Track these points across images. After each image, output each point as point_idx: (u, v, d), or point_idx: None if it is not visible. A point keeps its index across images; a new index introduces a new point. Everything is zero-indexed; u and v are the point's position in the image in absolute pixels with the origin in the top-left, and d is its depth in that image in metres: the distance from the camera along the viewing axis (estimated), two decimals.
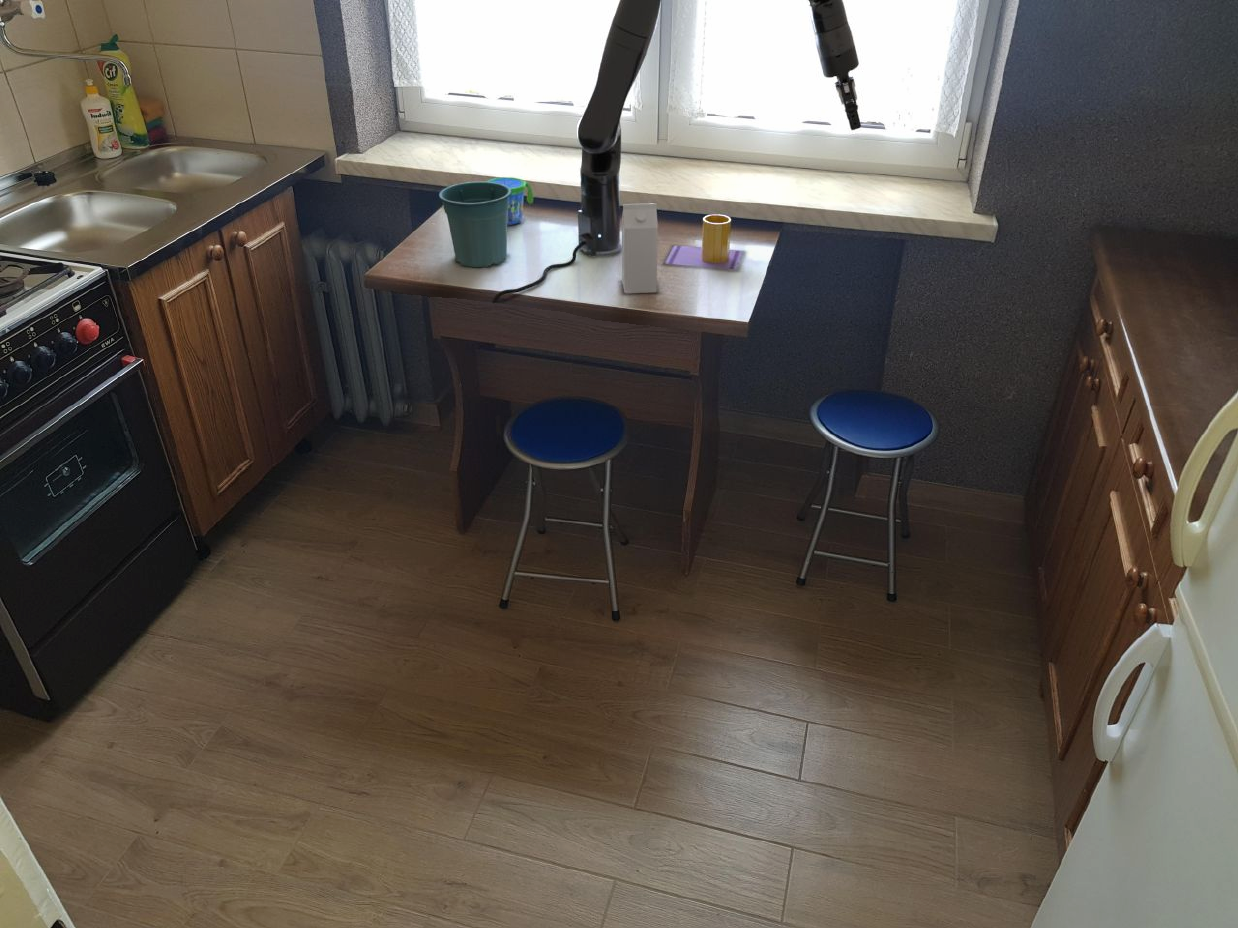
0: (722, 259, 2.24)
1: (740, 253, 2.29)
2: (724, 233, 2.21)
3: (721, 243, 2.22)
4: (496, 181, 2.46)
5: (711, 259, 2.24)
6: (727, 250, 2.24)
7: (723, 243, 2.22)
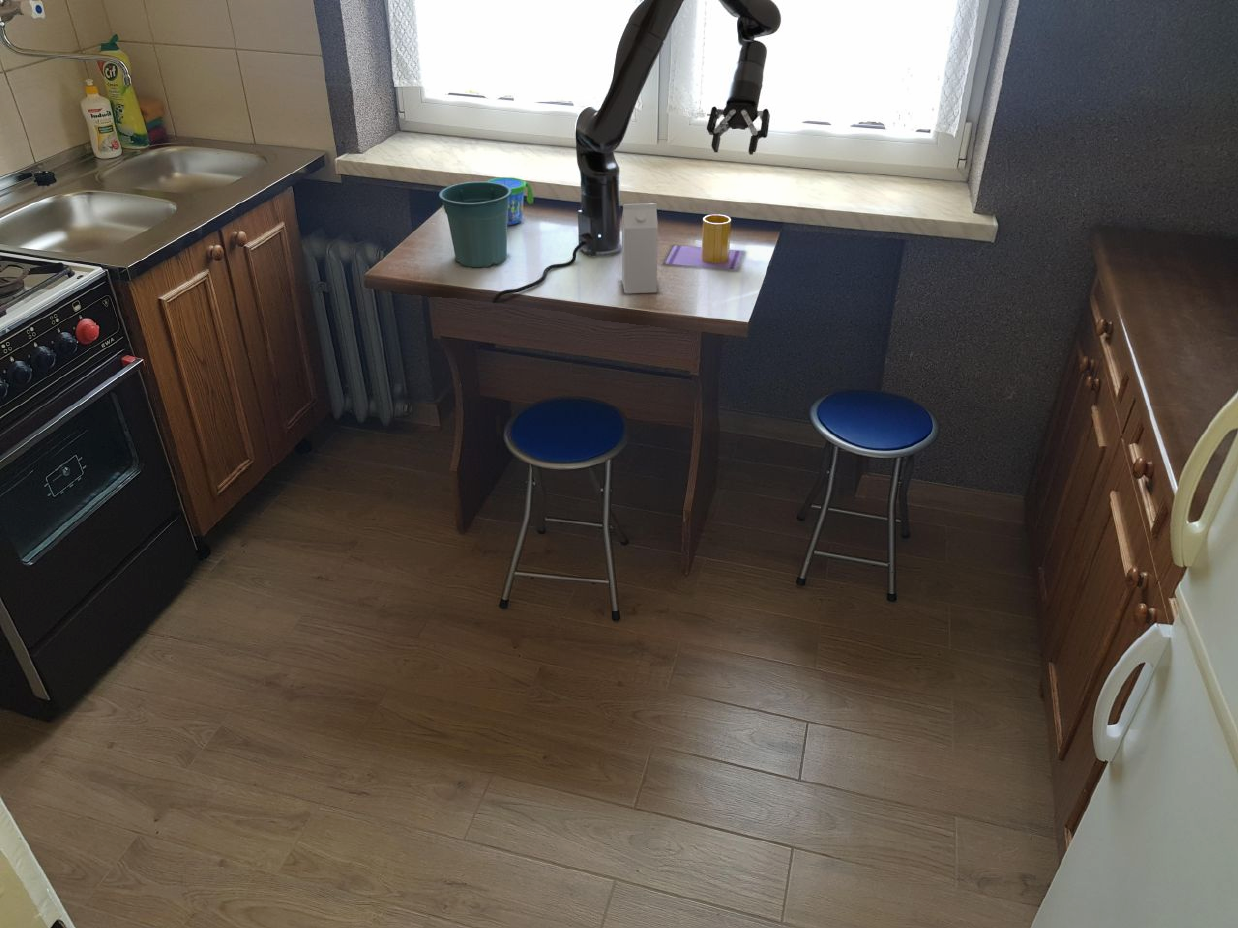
0: (722, 259, 2.24)
1: (740, 253, 2.29)
2: (724, 233, 2.21)
3: (721, 243, 2.22)
4: (496, 181, 2.46)
5: (711, 259, 2.24)
6: (727, 250, 2.24)
7: (723, 243, 2.22)
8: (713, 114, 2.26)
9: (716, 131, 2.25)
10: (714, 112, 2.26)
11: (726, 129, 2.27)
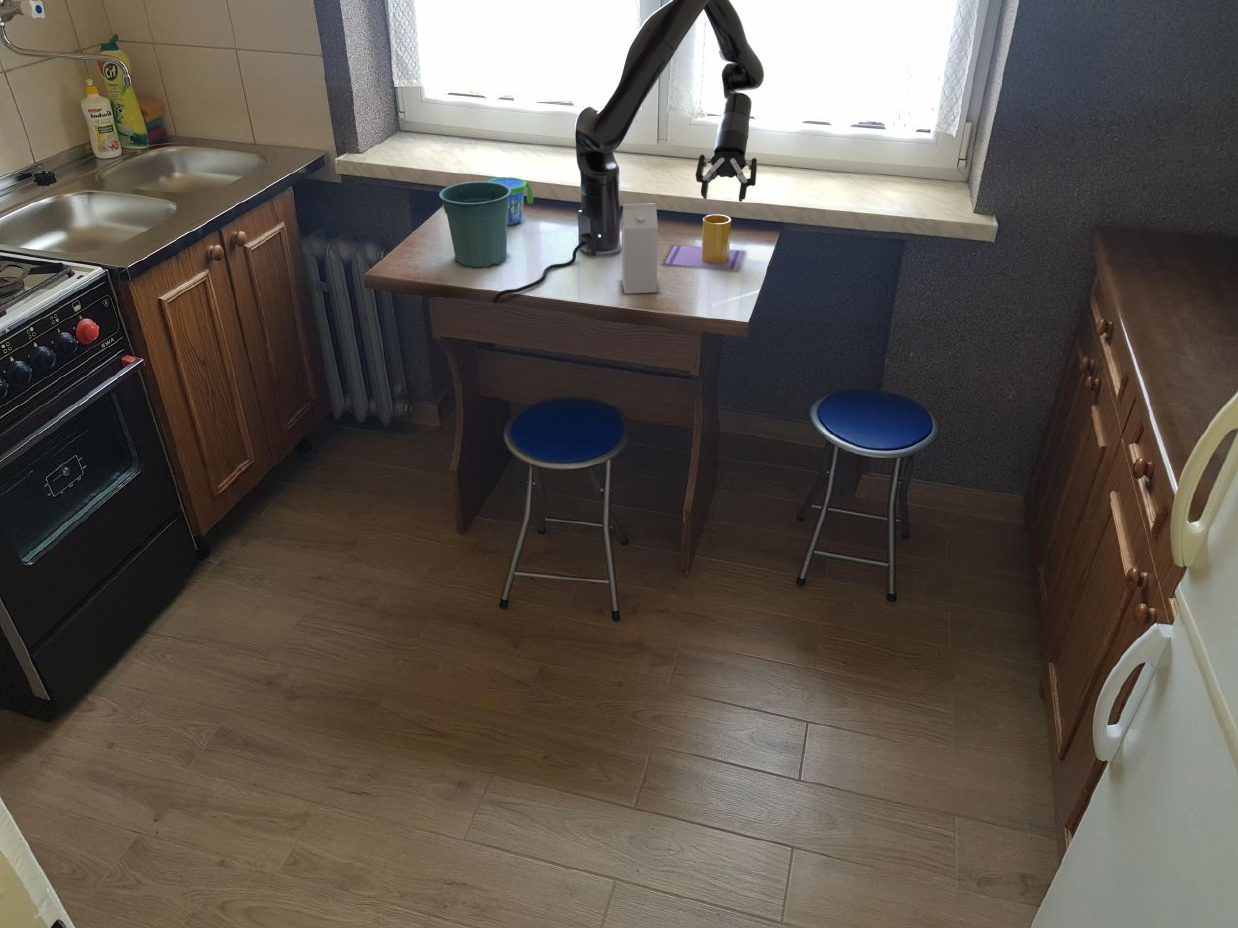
0: (722, 259, 2.24)
1: (740, 253, 2.29)
2: (724, 233, 2.21)
3: (721, 243, 2.22)
4: (496, 181, 2.46)
5: (711, 259, 2.24)
6: (727, 250, 2.24)
7: (723, 243, 2.22)
8: (701, 162, 2.28)
9: (705, 178, 2.27)
10: (702, 160, 2.28)
11: (714, 177, 2.29)
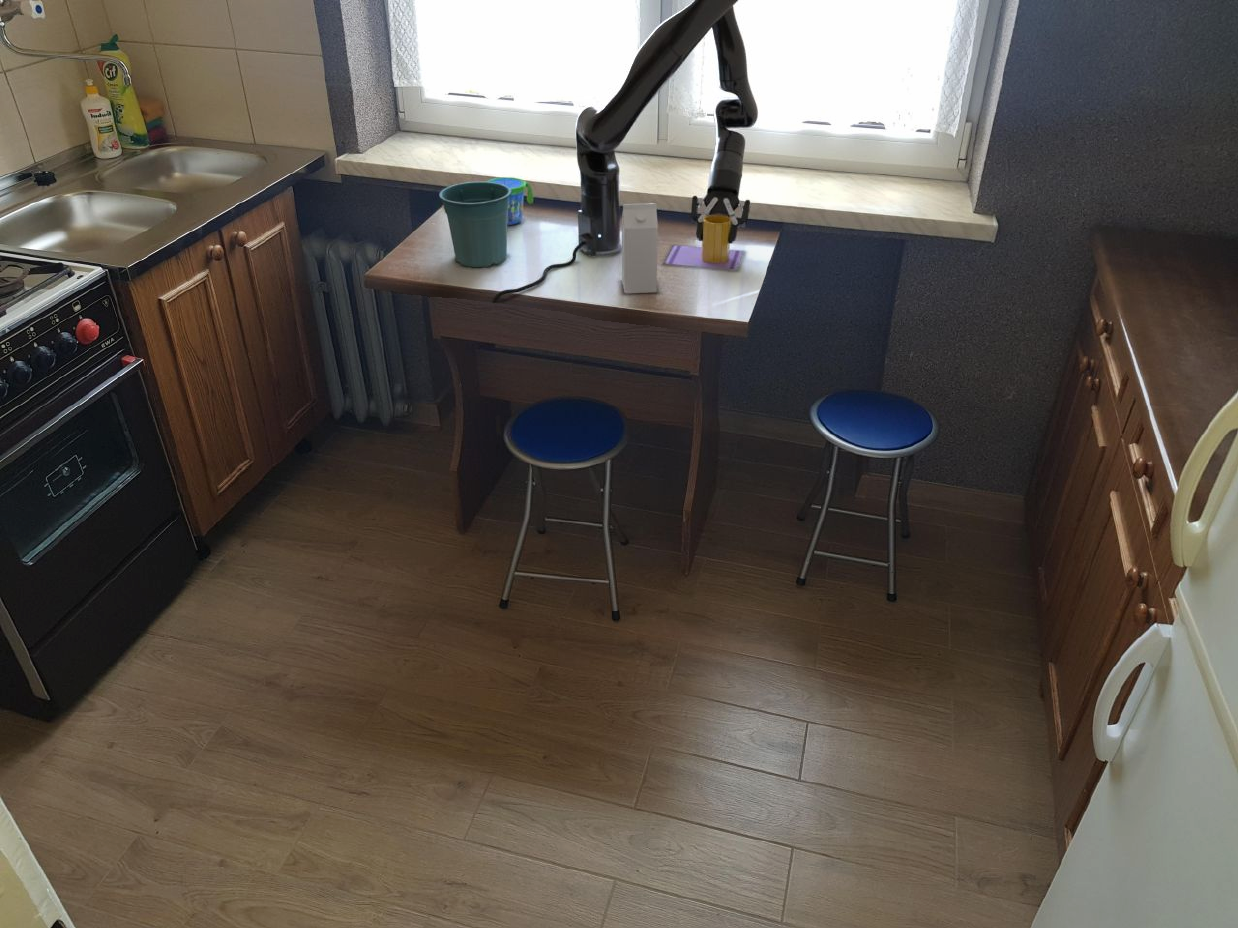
0: (722, 259, 2.24)
1: (740, 253, 2.29)
2: (724, 233, 2.21)
3: (721, 243, 2.22)
4: (496, 181, 2.46)
5: (711, 259, 2.24)
6: (727, 250, 2.24)
7: (723, 243, 2.22)
8: (695, 203, 2.25)
9: (701, 220, 2.24)
10: (696, 201, 2.25)
11: None
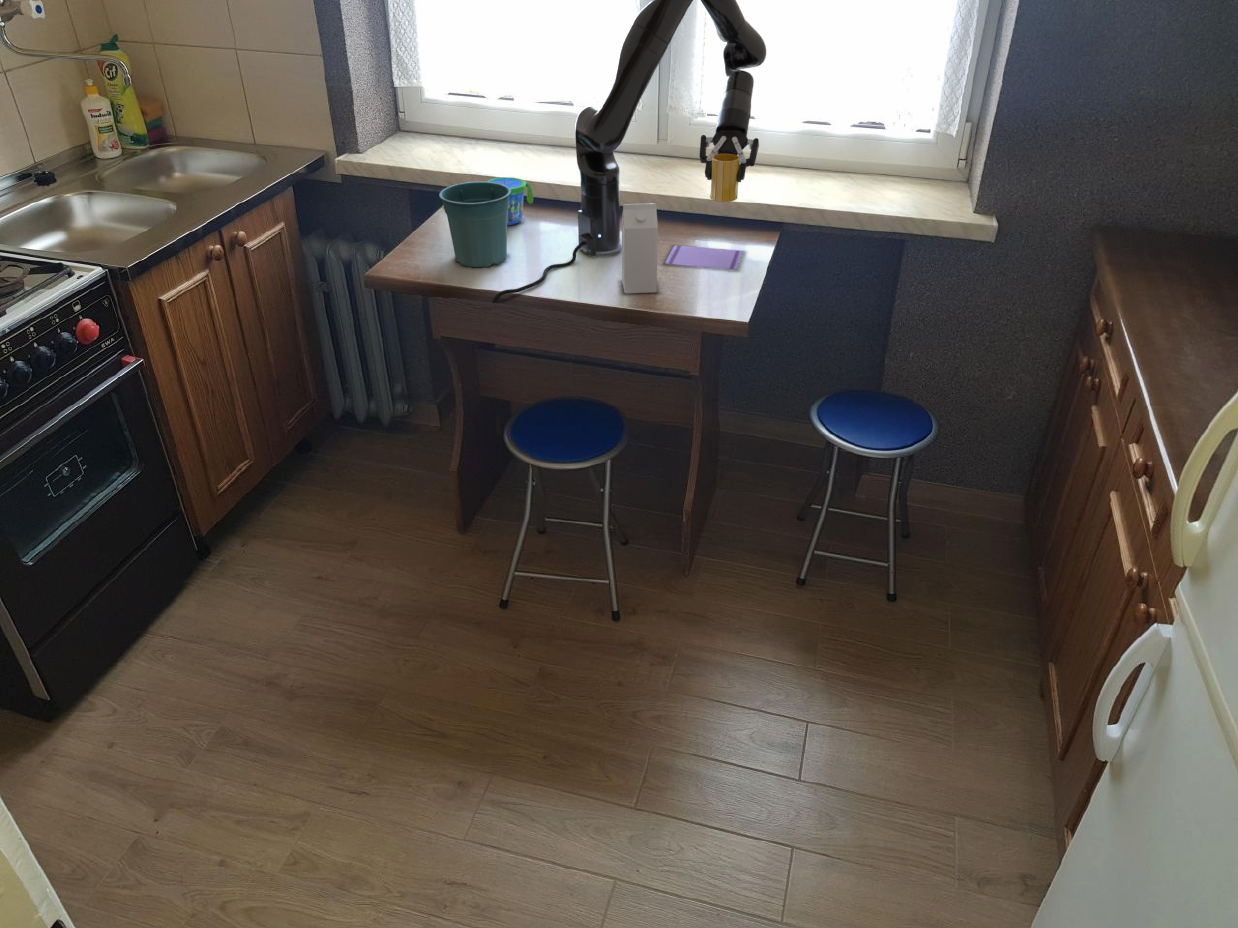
0: (731, 198, 2.25)
1: (740, 253, 2.29)
2: (733, 171, 2.21)
3: (729, 181, 2.23)
4: (496, 181, 2.46)
5: (720, 198, 2.25)
6: (735, 189, 2.25)
7: (731, 182, 2.23)
8: (703, 142, 2.26)
9: (709, 159, 2.24)
10: (704, 140, 2.26)
11: None
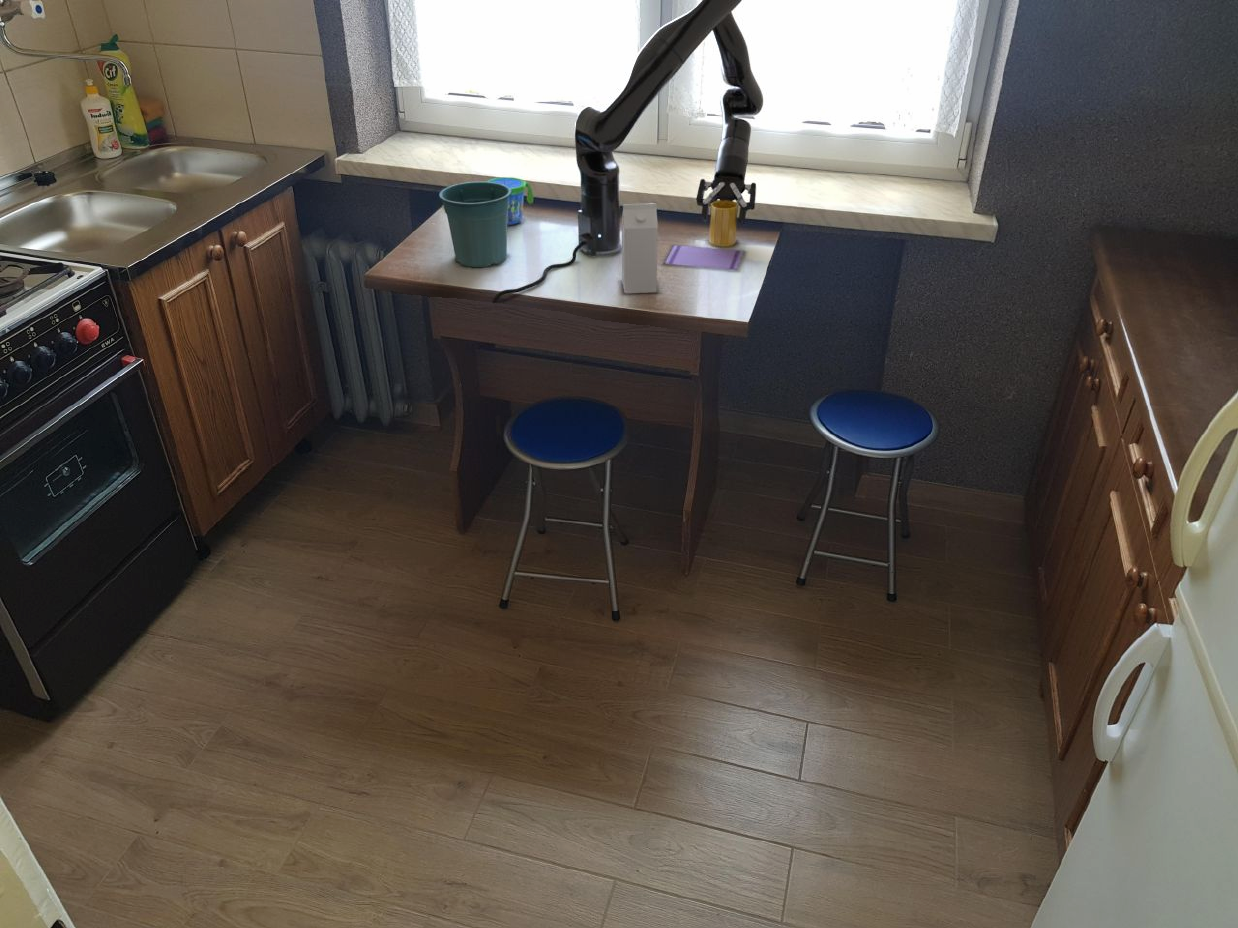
0: (729, 243, 2.34)
1: (740, 253, 2.29)
2: (731, 218, 2.30)
3: (728, 228, 2.31)
4: (496, 181, 2.46)
5: (718, 243, 2.33)
6: (734, 234, 2.33)
7: (730, 228, 2.31)
8: (702, 186, 2.34)
9: (706, 202, 2.33)
10: (703, 184, 2.34)
11: (714, 200, 2.35)
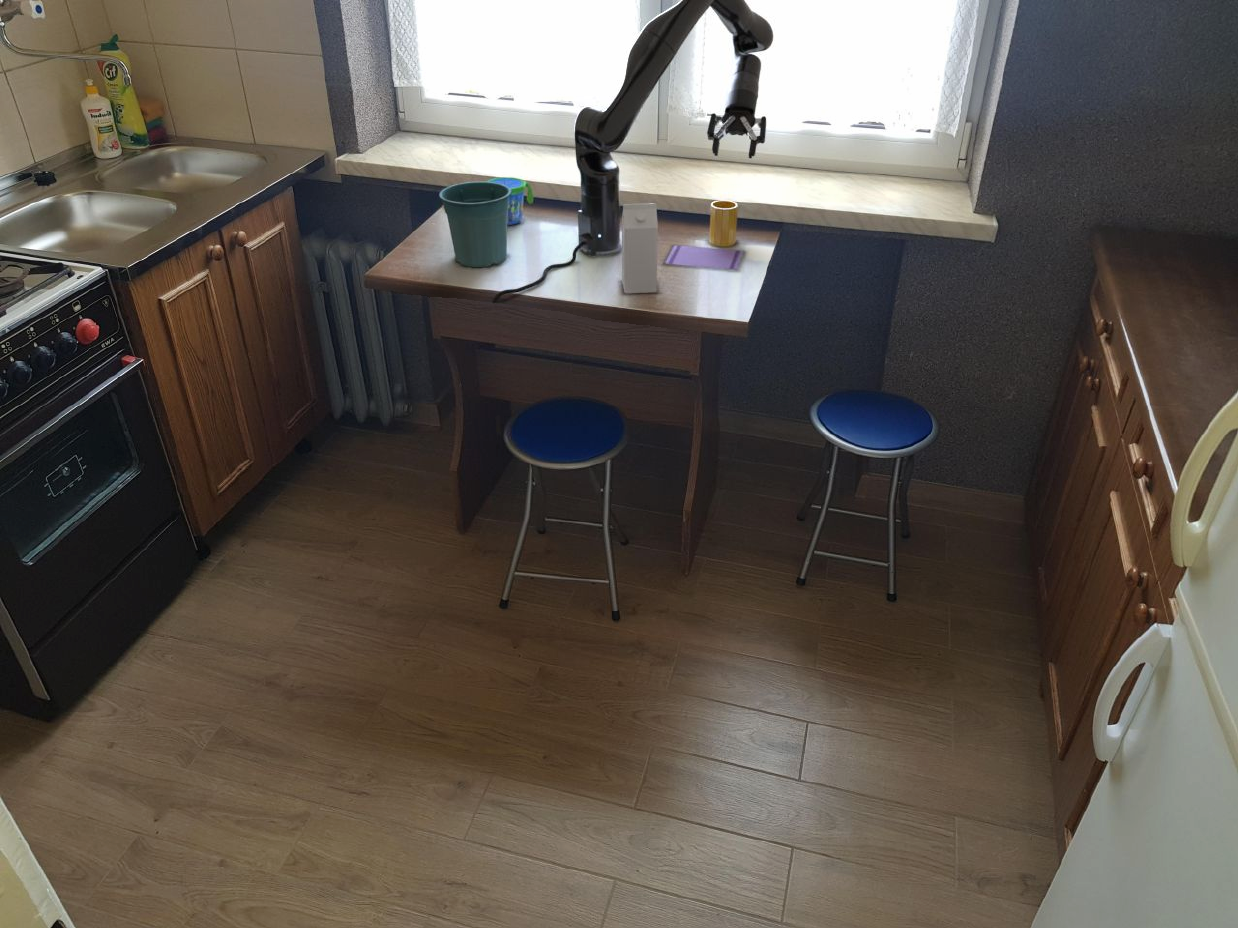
0: (729, 243, 2.34)
1: (740, 253, 2.29)
2: (731, 218, 2.30)
3: (728, 228, 2.31)
4: (496, 181, 2.46)
5: (718, 243, 2.33)
6: (734, 234, 2.33)
7: (730, 228, 2.31)
8: (713, 120, 2.37)
9: (716, 136, 2.36)
10: (714, 118, 2.37)
11: (725, 135, 2.38)
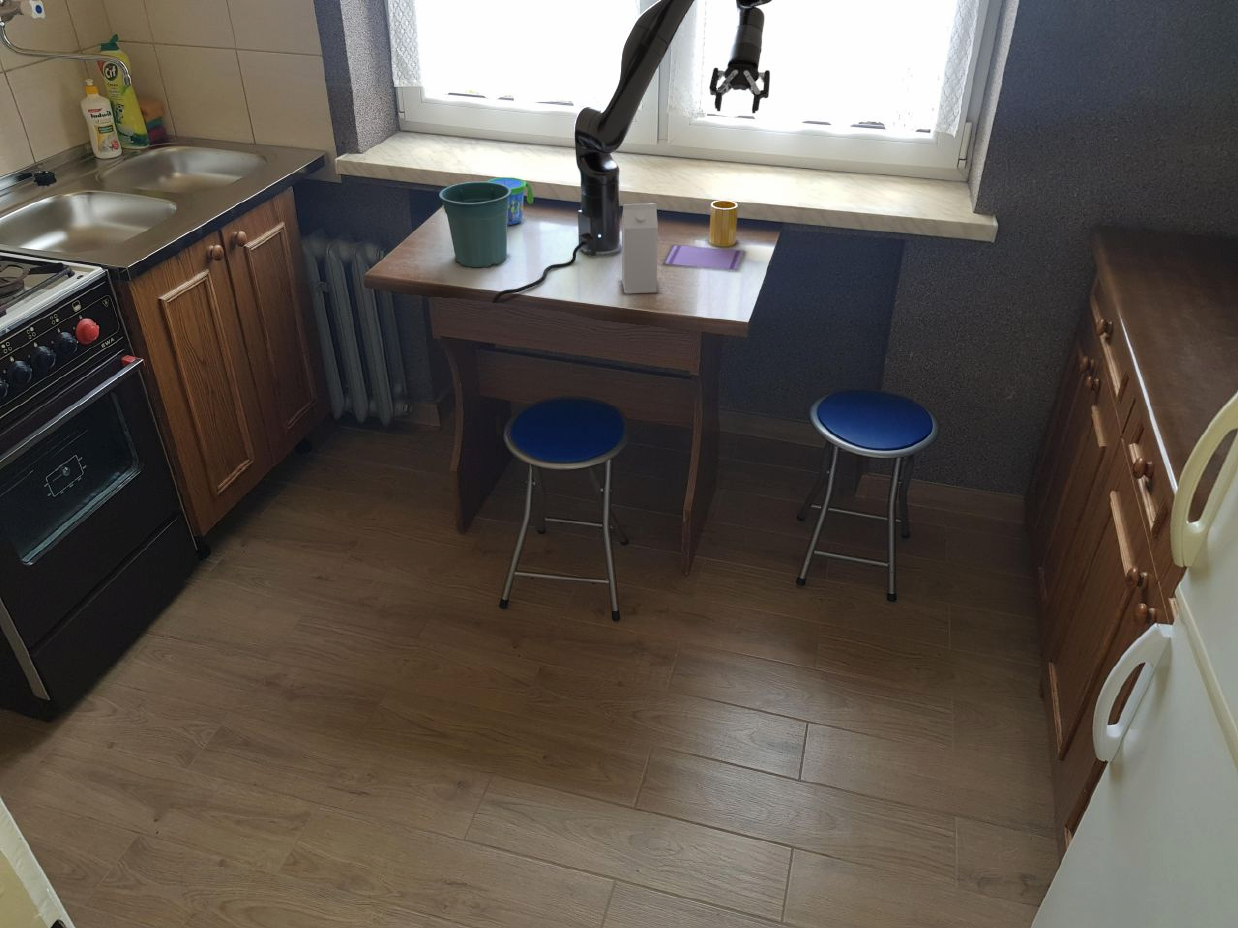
0: (729, 243, 2.34)
1: (740, 253, 2.29)
2: (731, 218, 2.30)
3: (728, 228, 2.31)
4: (496, 181, 2.46)
5: (718, 243, 2.33)
6: (734, 234, 2.33)
7: (730, 228, 2.31)
8: (715, 74, 2.31)
9: (719, 90, 2.30)
10: (716, 73, 2.32)
11: (727, 90, 2.32)
